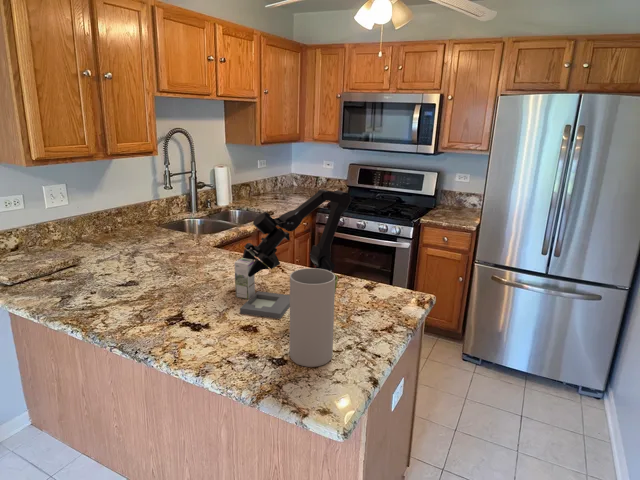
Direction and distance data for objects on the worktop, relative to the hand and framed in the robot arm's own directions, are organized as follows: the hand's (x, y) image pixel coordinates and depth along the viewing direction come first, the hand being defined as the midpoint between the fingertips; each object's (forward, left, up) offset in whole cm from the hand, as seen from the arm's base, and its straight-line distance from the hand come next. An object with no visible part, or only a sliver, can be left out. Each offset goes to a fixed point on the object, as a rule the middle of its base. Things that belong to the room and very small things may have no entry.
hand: (244, 272), depth 162 cm
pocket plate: (-12, +6, -10) cm, 17 cm away
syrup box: (0, 0, -10) cm, 10 cm away
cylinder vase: (-36, +34, -10) cm, 51 cm away
